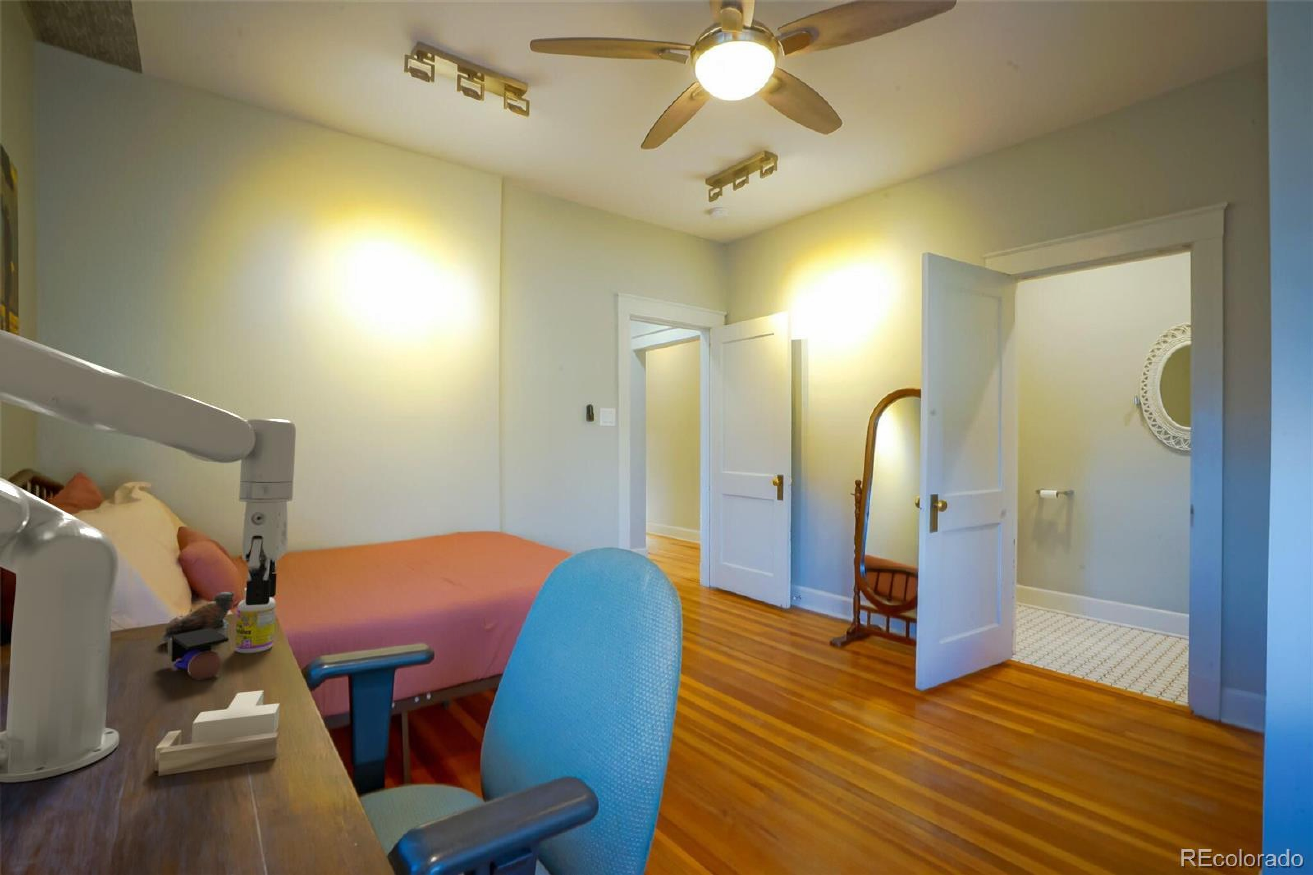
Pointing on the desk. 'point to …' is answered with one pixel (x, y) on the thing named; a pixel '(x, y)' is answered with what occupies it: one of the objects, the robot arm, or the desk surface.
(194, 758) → the corner stop
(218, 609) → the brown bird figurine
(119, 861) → the desk surface
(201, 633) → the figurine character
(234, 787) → the desk surface
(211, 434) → the robot arm
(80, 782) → the desk surface
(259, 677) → the desk surface
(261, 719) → the t block
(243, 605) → the supplement bottle
